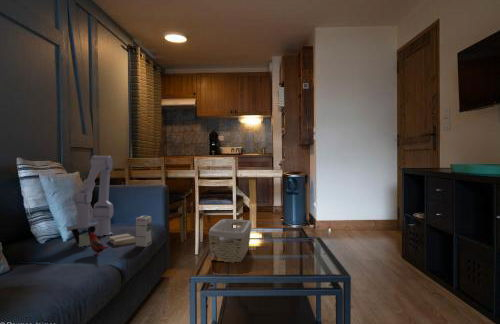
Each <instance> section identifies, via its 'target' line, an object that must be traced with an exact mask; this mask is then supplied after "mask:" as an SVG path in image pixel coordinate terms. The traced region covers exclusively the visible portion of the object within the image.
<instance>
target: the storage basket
mask: <svg viewBox="0 0 500 324" xmlns="http://www.w3.org/2000/svg"><path fill="white" fill-rule="evenodd" d="M233 226H239V227H235V228H233ZM251 231H252V220H251V219H250V220H249V219H232V218H222V219H220V220H218V222H216V223H215V224H214V225H213V226H211V228H210V229H209V231H208V236H209V237H208V240H209V242H208V243H209V251H210V250H211V252H213V253H214V254H215V255H216V256H217V257H219V258H221V259H223V260H227V261H229V262H240V263H242V261H243V260H244V259H245V257H246V255H247V253H248V251H249V249H250V241H251ZM248 248H249V249H248Z"/></svg>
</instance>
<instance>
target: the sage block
mask: <svg viewBox="0 0 500 324" xmlns="http://www.w3.org/2000/svg"><path fill="white" fill-rule="evenodd" d="M89 244H90V239H89V235H88V233H85V234H79V244H78V245H79V246H84V245H89Z"/></svg>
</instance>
